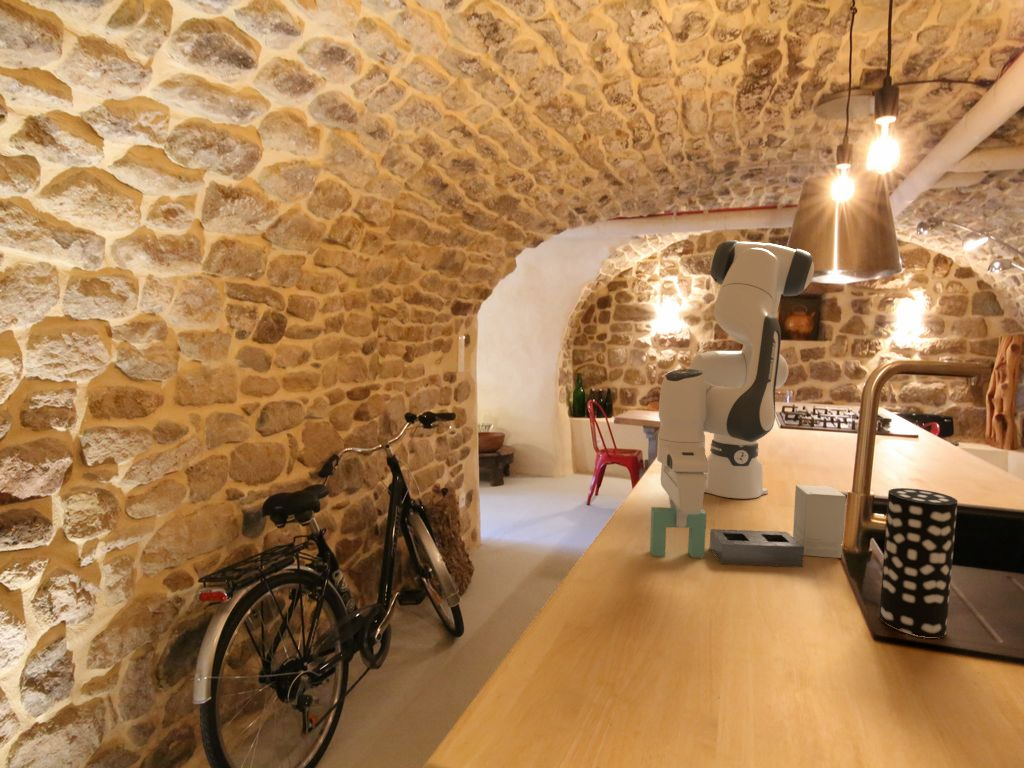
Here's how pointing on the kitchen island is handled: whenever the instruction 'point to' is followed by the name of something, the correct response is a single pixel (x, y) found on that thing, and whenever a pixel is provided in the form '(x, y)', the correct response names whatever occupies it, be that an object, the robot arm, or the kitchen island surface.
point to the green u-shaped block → (667, 519)
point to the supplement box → (819, 520)
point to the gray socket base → (756, 548)
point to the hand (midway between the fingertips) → (678, 522)
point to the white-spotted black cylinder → (918, 561)
